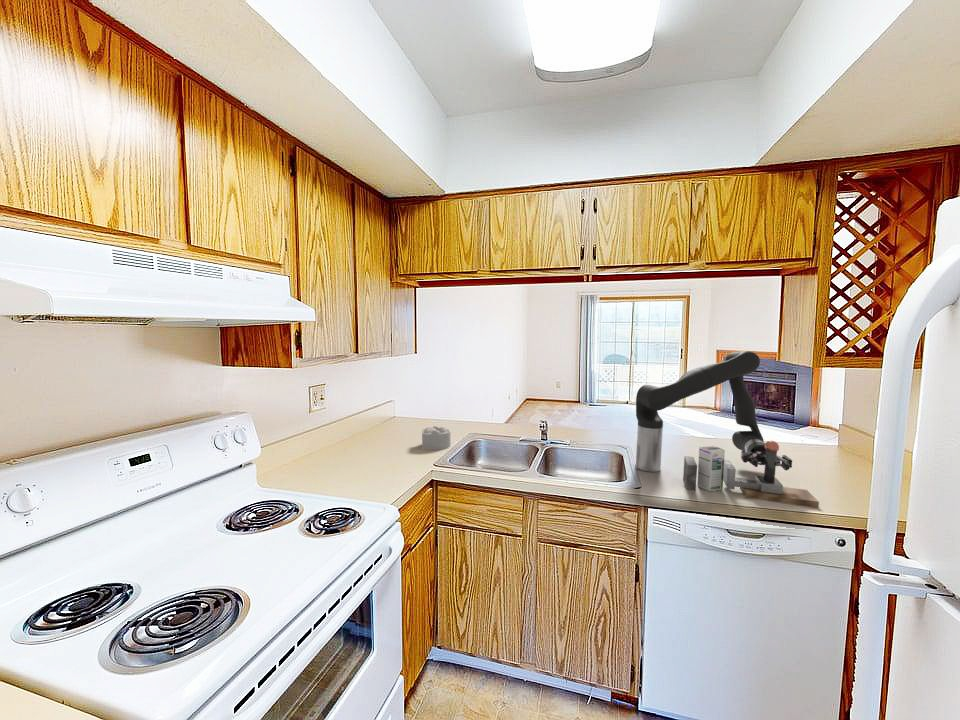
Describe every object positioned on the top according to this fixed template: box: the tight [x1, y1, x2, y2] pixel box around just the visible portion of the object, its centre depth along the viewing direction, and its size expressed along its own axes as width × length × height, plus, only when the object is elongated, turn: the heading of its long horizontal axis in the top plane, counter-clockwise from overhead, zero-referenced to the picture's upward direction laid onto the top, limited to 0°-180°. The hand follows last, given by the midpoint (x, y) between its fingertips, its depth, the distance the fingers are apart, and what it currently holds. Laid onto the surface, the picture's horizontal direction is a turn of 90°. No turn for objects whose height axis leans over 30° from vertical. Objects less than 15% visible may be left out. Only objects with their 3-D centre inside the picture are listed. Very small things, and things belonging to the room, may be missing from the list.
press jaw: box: [723, 440, 784, 494], centre depth 142 cm, size 16×10×17 cm, turn 69°
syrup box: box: [697, 445, 726, 492], centre depth 147 cm, size 6×6×14 cm
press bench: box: [682, 455, 820, 509], centre depth 143 cm, size 38×10×9 cm, turn 69°
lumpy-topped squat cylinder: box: [421, 425, 452, 451], centre depth 192 cm, size 10×13×9 cm
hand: (771, 465), depth 139 cm, fingers open, 8 cm apart
